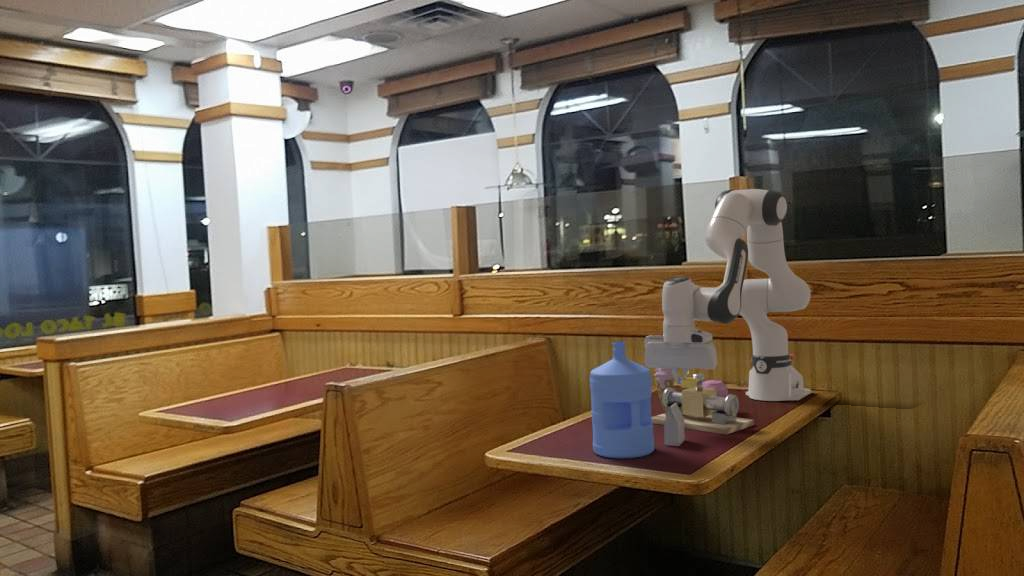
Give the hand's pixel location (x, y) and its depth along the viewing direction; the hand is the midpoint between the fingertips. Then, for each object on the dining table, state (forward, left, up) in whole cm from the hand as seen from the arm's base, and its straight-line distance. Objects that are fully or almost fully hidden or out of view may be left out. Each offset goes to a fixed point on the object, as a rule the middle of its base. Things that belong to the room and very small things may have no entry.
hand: (681, 384), depth 234 cm
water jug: (+29, +3, -13) cm, 32 cm away
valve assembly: (-8, +1, -13) cm, 15 cm away
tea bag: (+14, +8, -13) cm, 21 cm away
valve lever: (-3, +2, 0) cm, 4 cm away
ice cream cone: (-17, -18, -13) cm, 28 cm away
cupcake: (-24, -5, -13) cm, 27 cm away
